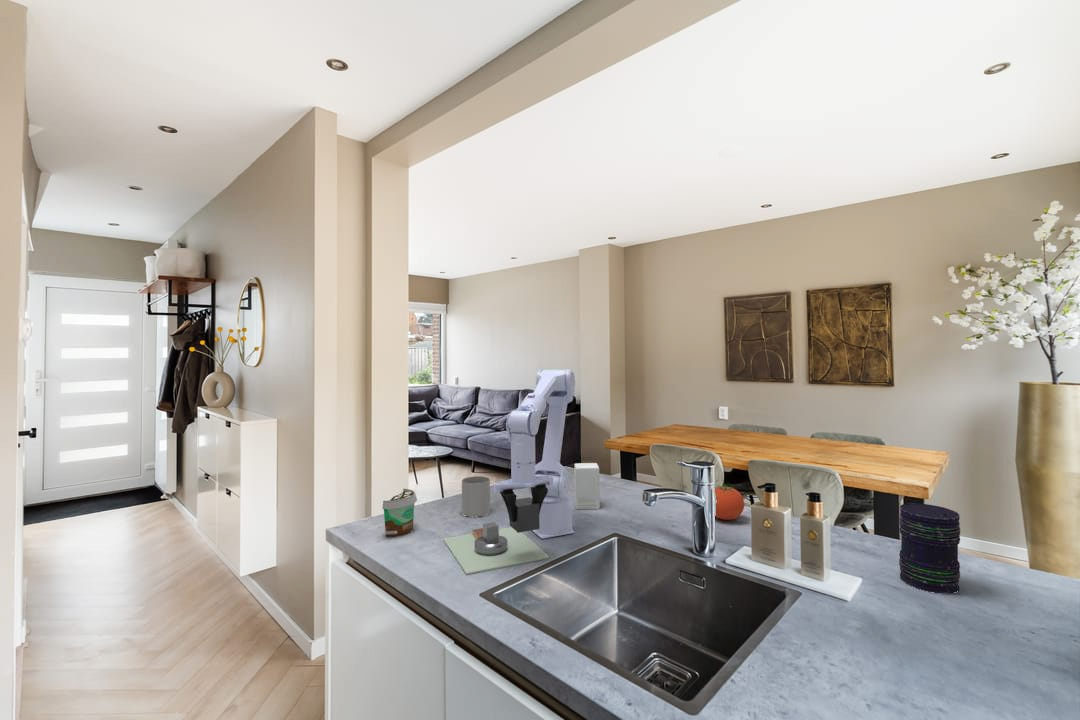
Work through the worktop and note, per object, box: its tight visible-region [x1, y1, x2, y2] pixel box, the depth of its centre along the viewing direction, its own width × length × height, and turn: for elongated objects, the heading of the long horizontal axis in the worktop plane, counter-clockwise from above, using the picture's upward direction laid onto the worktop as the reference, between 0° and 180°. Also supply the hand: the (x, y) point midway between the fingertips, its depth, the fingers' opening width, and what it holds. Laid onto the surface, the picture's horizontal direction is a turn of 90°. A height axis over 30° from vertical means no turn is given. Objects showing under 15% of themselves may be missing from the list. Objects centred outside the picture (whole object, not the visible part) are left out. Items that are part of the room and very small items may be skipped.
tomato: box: [714, 483, 745, 521], centre depth 142 cm, size 10×10×10 cm
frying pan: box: [471, 521, 508, 556], centre depth 126 cm, size 16×8×6 cm, turn 24°
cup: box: [461, 475, 491, 518], centre depth 151 cm, size 8×8×10 cm
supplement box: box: [573, 462, 601, 510], centre depth 156 cm, size 7×7×13 cm
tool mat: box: [442, 526, 550, 576], centre depth 124 cm, size 20×22×1 cm
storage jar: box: [898, 502, 961, 594], centre depth 103 cm, size 10×10×15 cm
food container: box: [381, 488, 418, 538], centre depth 136 cm, size 12×6×10 cm, turn 168°
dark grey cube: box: [509, 496, 540, 533], centre depth 118 cm, size 5×5×6 cm
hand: (524, 518), depth 118 cm, fingers closed on dark grey cube, 5 cm apart
